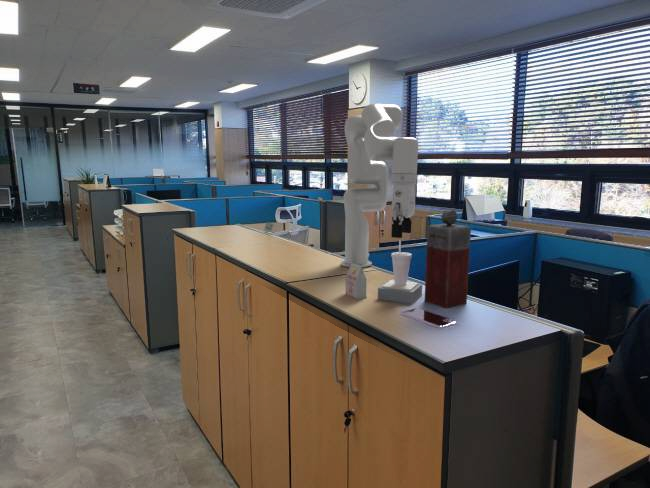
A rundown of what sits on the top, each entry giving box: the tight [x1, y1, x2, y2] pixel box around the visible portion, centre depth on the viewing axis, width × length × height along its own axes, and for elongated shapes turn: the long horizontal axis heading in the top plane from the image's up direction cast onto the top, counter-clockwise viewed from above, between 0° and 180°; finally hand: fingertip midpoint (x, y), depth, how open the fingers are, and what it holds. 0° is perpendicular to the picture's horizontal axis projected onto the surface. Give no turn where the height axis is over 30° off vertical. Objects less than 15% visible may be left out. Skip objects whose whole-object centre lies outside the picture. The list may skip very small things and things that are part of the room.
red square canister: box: [424, 209, 472, 309], centre depth 142 cm, size 9×11×28 cm
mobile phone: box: [399, 307, 459, 329], centre depth 128 cm, size 8×1×15 cm
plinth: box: [377, 279, 423, 305], centre depth 149 cm, size 11×11×4 cm
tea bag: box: [345, 263, 367, 300], centre depth 149 cm, size 4×7×10 cm, turn 26°
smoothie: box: [390, 239, 413, 286], centre depth 147 cm, size 6×6×14 cm
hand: (401, 235), depth 146 cm, fingers open, 9 cm apart
